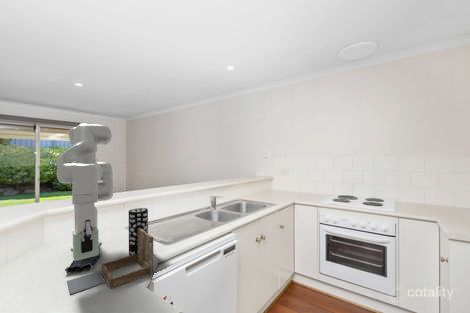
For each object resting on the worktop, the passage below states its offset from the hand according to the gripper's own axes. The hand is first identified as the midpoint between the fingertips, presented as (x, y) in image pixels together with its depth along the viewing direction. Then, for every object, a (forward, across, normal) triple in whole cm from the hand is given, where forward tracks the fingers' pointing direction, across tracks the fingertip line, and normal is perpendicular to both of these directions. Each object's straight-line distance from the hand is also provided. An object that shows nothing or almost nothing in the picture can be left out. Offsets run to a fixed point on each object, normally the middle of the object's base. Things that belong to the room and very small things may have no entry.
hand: (85, 248), depth 77 cm
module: (+3, 0, 0) cm, 3 cm away
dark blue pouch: (+13, -17, +2) cm, 22 cm away
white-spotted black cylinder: (+12, -12, +22) cm, 28 cm away
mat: (+12, 0, 0) cm, 12 cm away
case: (+12, +3, +12) cm, 18 cm away
